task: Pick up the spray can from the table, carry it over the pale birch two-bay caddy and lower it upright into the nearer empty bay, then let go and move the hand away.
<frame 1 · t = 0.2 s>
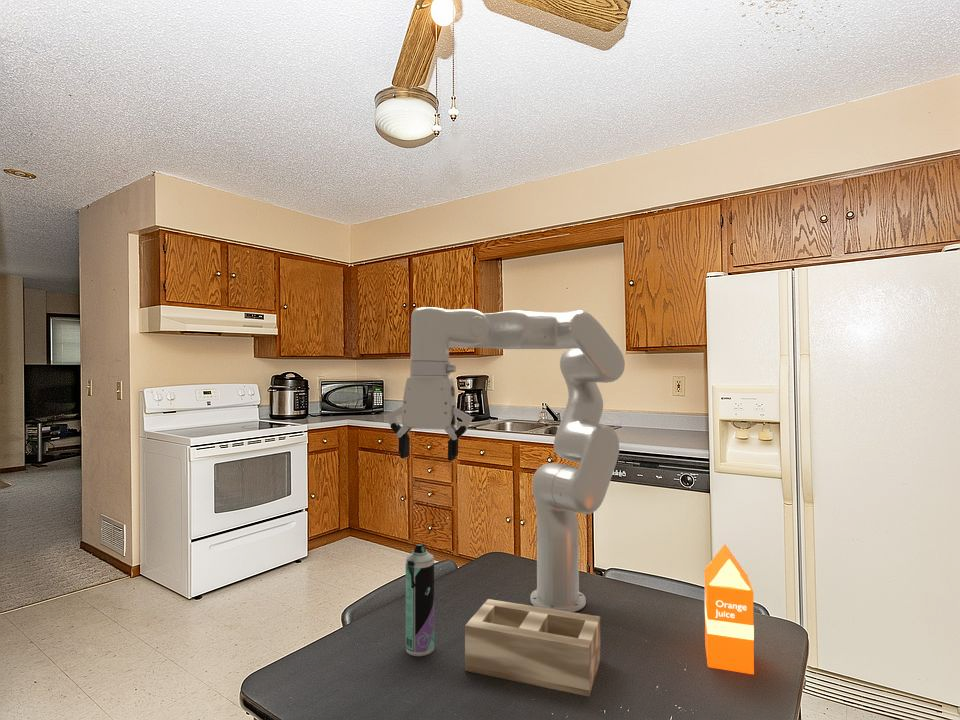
hand: (428, 458, 108), 36 cm above the table, tool pointing down, fingers open, 9 cm apart
spray can: (420, 649, 106), on the table
orange juice: (728, 659, 103), on the table
caddy: (533, 665, 100), on the table
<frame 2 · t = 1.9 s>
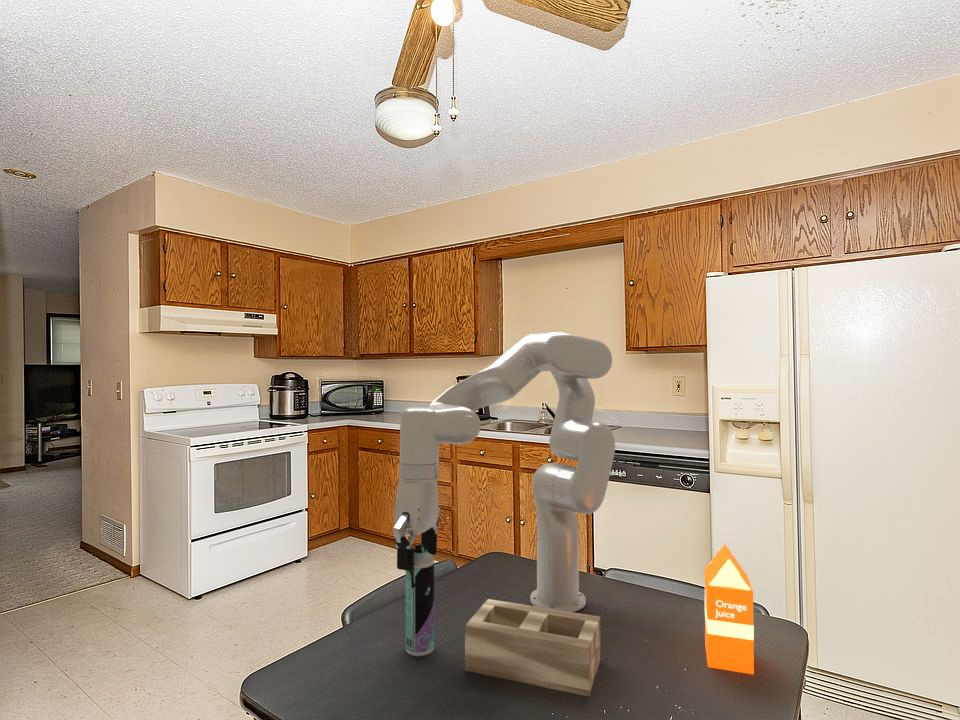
hand: (417, 561, 106), 17 cm above the table, tool pointing down, fingers open, 9 cm apart
nothing on the table moved.
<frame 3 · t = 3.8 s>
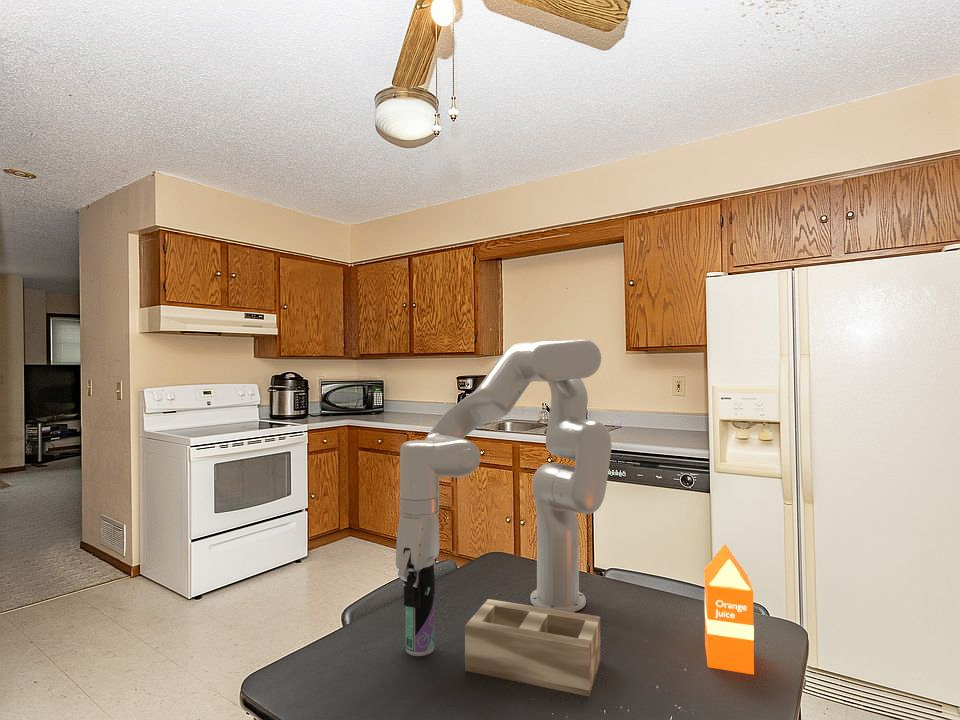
hand: (419, 599, 107), 10 cm above the table, tool pointing down, fingers closed on spray can, 5 cm apart
spray can: (419, 649, 106), on the table, touching gripper
everything else where it was.
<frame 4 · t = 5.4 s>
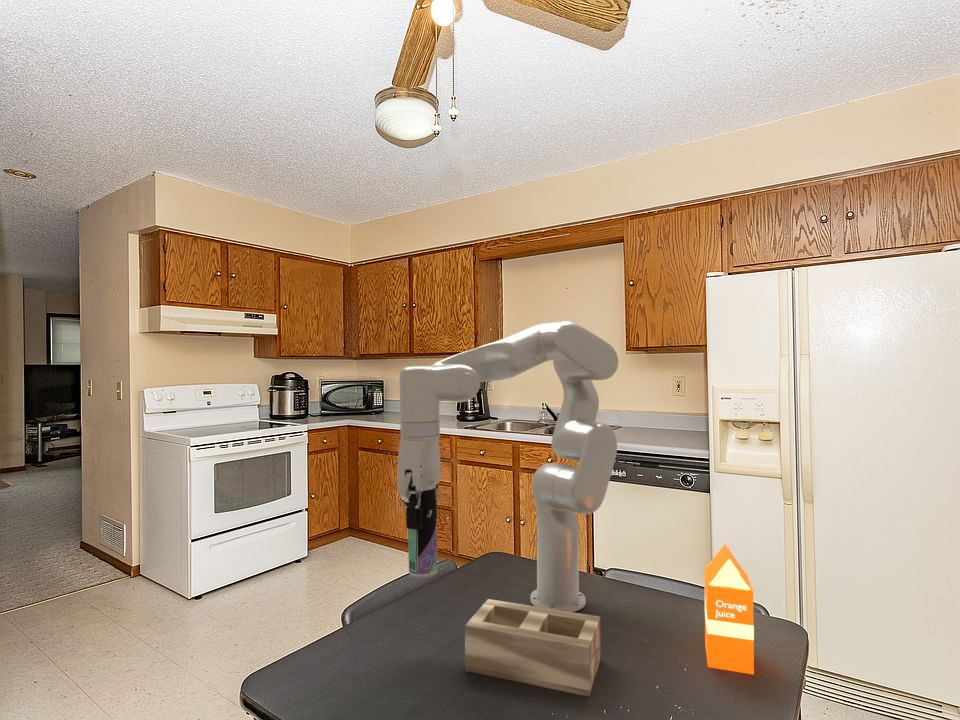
hand: (422, 523, 107), 24 cm above the table, tool pointing down, fingers closed on spray can, 5 cm apart
spray can: (423, 573, 107), point 14 cm above the table, touching gripper
everything else where it was.
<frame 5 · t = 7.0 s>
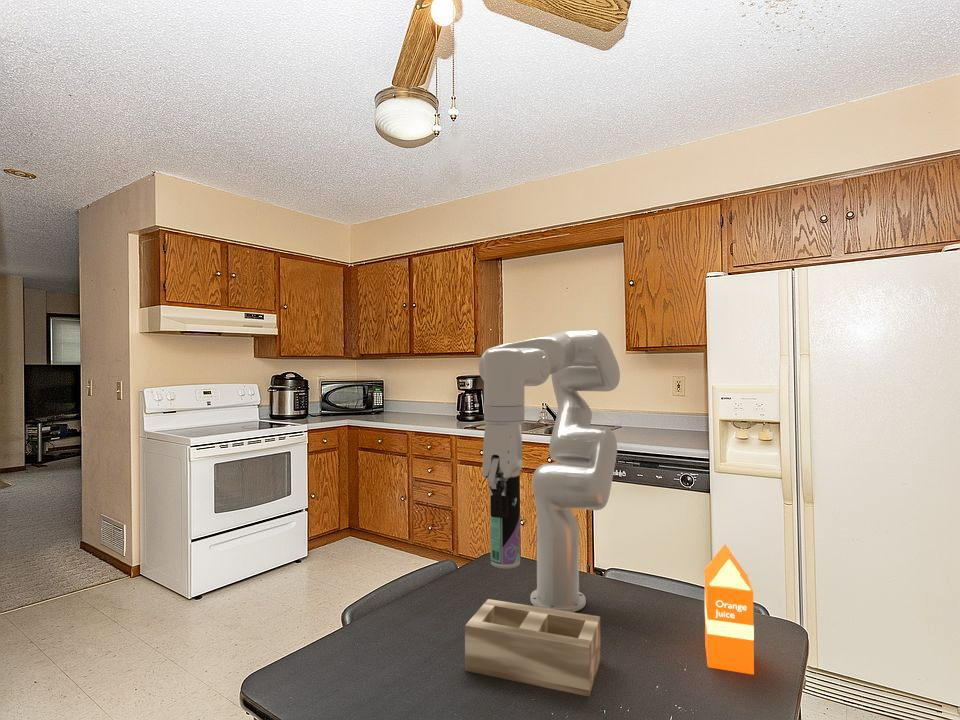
hand: (504, 511, 103), 27 cm above the table, tool pointing down, fingers closed on spray can, 5 cm apart
spray can: (505, 564, 103), point 18 cm above the table, touching gripper
everything else where it was.
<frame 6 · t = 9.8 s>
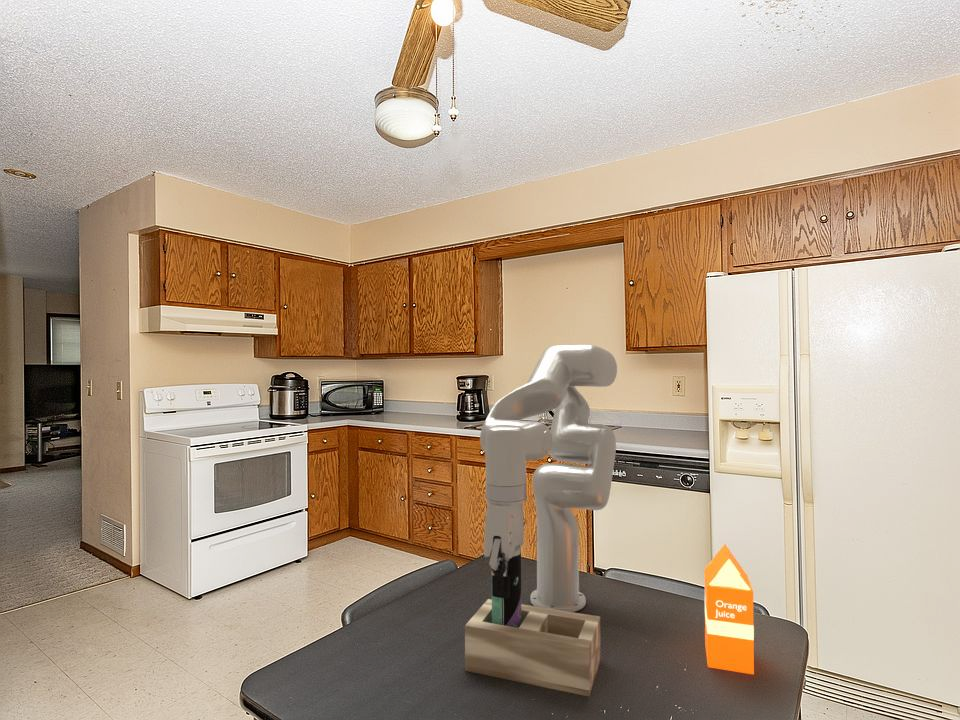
hand: (506, 589, 103), 13 cm above the table, tool pointing down, fingers closed on spray can, 5 cm apart
spray can: (506, 642, 103), point 3 cm above the table, touching gripper
everything else where it was.
when the fingers open (13 cm above the table, at t = 10.6 s): spray can drops 2 cm, resting on caddy.
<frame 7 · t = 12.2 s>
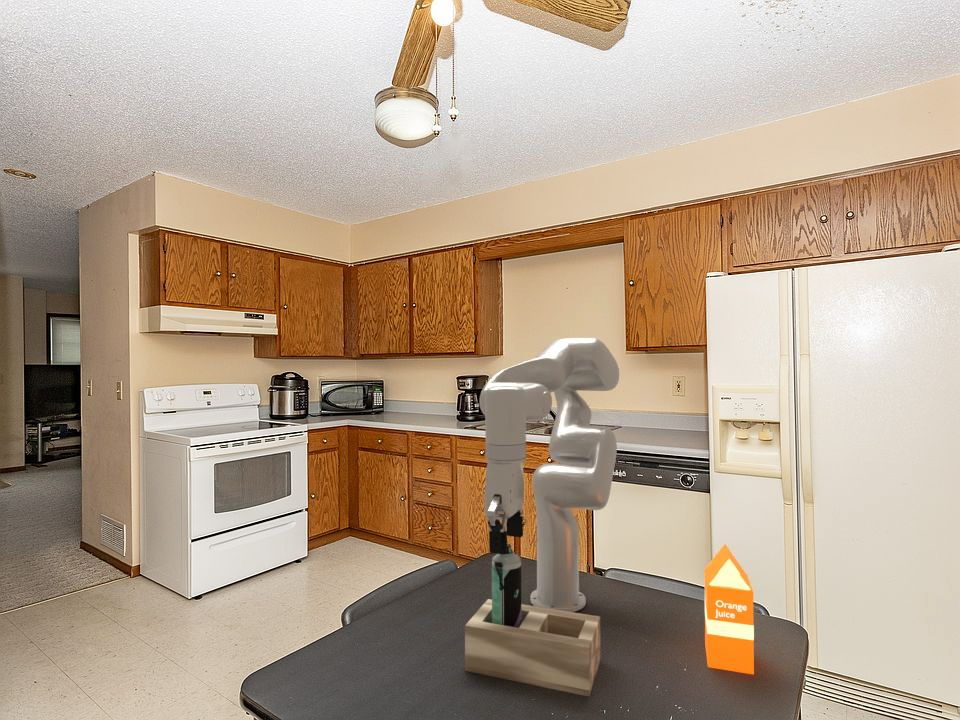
hand: (506, 544, 103), 21 cm above the table, tool pointing down, fingers open, 9 cm apart
spray can: (506, 654, 103), point 1 cm above the table, touching caddy
everything else where it was.
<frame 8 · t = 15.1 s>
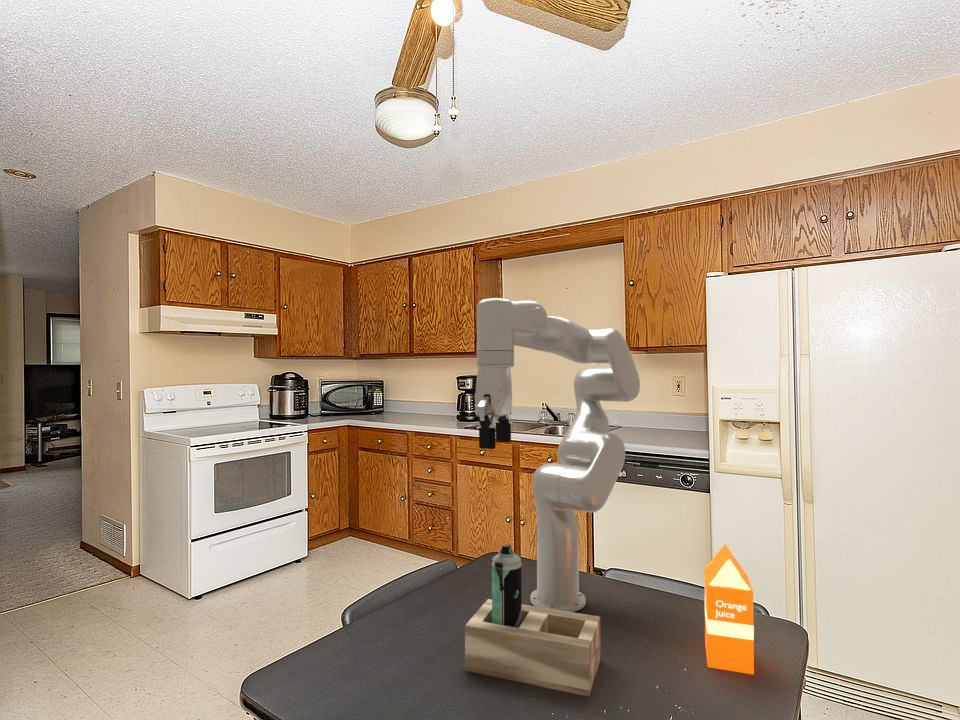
hand: (495, 445, 112), 38 cm above the table, tool pointing down, fingers open, 9 cm apart
nothing on the table moved.
at the end: spray can 0.2 cm from the target spot on the caddy, point 0.8 cm above the caddy's base; spray can tilted 0°; the gripper is holding nothing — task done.
